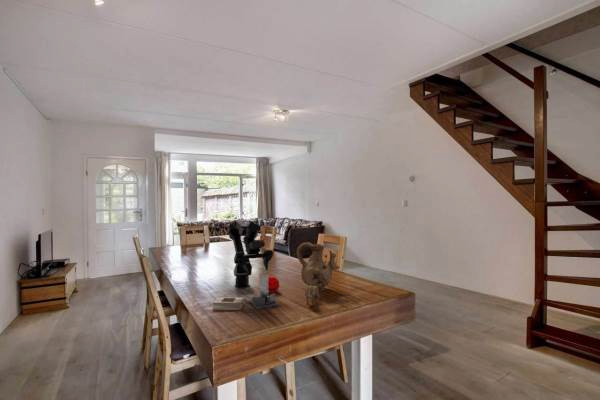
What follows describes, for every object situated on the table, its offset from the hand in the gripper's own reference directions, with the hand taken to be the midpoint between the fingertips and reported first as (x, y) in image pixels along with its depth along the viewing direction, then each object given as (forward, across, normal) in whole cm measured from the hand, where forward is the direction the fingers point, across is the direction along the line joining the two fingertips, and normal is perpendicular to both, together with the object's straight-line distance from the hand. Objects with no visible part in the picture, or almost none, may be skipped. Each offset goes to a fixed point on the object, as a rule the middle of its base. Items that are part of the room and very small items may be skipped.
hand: (258, 271), depth 144 cm
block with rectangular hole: (+12, -15, +7) cm, 20 cm away
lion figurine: (+21, +21, -1) cm, 30 cm away
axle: (+14, 0, +4) cm, 15 cm away
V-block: (+14, 0, +5) cm, 15 cm away
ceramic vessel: (+9, +34, +10) cm, 36 cm away
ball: (+3, +10, +17) cm, 20 cm away
